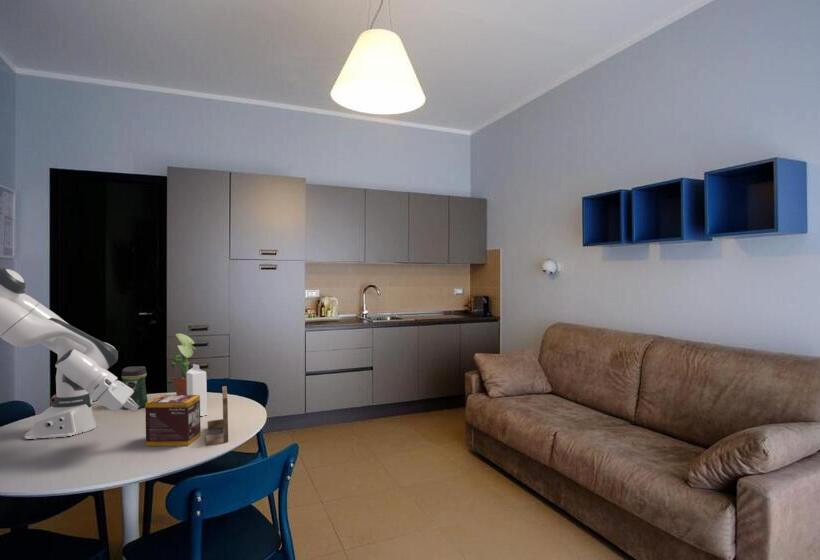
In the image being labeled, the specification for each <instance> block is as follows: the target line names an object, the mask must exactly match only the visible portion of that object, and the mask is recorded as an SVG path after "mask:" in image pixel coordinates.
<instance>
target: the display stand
mask: <svg viewBox="0 0 820 560" xmlns="http://www.w3.org/2000/svg"><path fill="white" fill-rule="evenodd" d="M221 387H222V389H221V390H222V418H221V419H214V420H213V419H212V420H207V422H206V423H207V430H214V429H213V428H215V429H222V431H223V432H222V433H217V434H207V435H206V436H205V439H206V440H205V442H206V443H205V444H206V446H209V445H216V444H217V445H218V444H223V443H224V444H225V443H229V412H228V409H229V408H228V407H229V406H228V403H229V402H228V387H227V385H225V386H221ZM221 427H223V428H221Z"/></svg>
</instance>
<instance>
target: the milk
mask: <svg viewBox="0 0 820 560" xmlns="http://www.w3.org/2000/svg"><path fill="white" fill-rule="evenodd" d="M186 377H187V395H200V416H203V417H205V416H204V415H207V416H208V395H207V394H208V393H207V390H208V389H207V371H205V370H202V369H201V368H200V365H199V364H196V363H193V364H192V367H191V368H190V369H188V371H187V372H186Z"/></svg>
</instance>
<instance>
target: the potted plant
mask: <svg viewBox="0 0 820 560" xmlns="http://www.w3.org/2000/svg"><path fill="white" fill-rule="evenodd" d="M175 336H176V338H178V339H177V340H179V342H180V343H181V345H179V344H177V348H178V350H179V352H180V354H175V355H174V356H173V359H172V360H173V361H171V362H170V366H171V368H174V367H175V365H176V366H177V367H178V368H179V370H180V371H181V374H177V375H173V376H172V385H174V387H175V393H176V394H175V395H187V377H186V372H187V371H189V365H190V363H191V361H188V358H191V357H192V356H193V355H195V353H194V350H196V347H195V346H194V344H195V341H194V340H193V338H192V337H190V336H188V335H186V334H183V333H181V332H180V333H175Z"/></svg>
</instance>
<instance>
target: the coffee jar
mask: <svg viewBox="0 0 820 560" xmlns="http://www.w3.org/2000/svg"><path fill="white" fill-rule="evenodd" d="M147 376H148V375H147V368H146V366H139V365H138V366H127V367H124V368H122V370H121V380H122V383H124V384H125V385H127V386H128V387H130V388H131V389H133V391H134V393H133V394H132V395H131V396H130V398H131V399H133V401H134V402H135V403H136V404H137V405H139V408H138V409H141V408H144V407H145V403H147V402H149V400H148V396H147V395H148V394H147V388H146V377H147ZM122 408H123V409H126V410H127V408H125V407H123V406H122Z"/></svg>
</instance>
